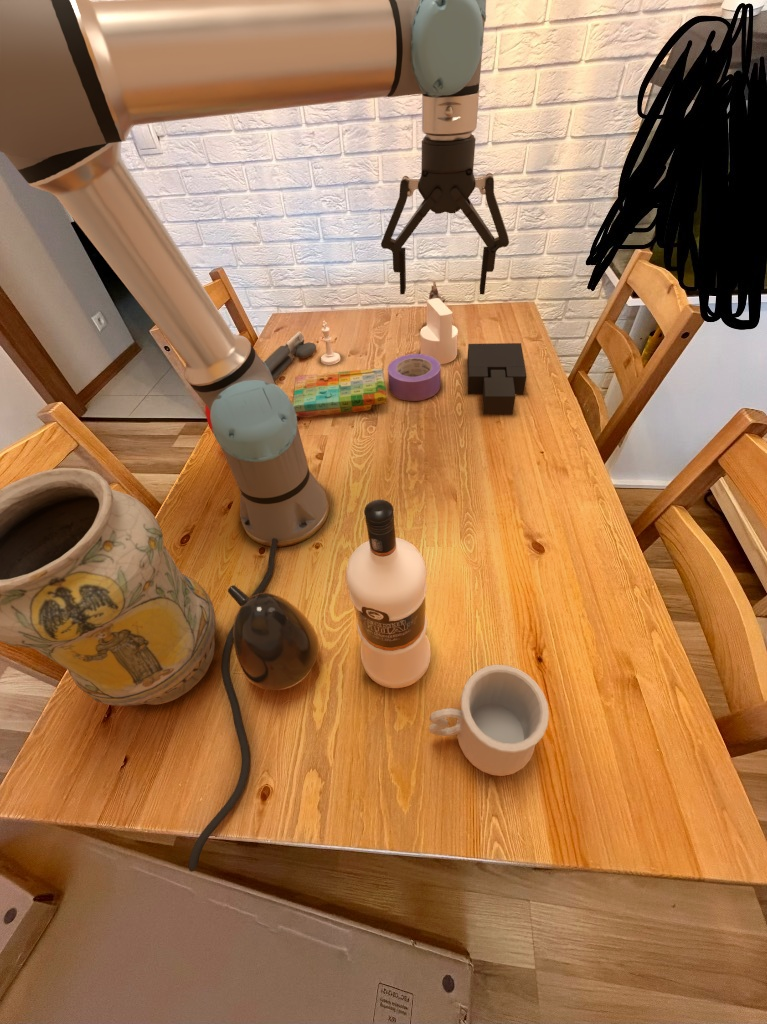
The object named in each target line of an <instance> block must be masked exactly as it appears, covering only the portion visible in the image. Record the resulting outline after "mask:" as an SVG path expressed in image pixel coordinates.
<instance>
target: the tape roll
mask: <svg viewBox="0 0 767 1024" xmlns="http://www.w3.org/2000/svg"><path fill="white" fill-rule="evenodd" d="M387 379H388V390H389V392H390V394H391V395H392V396H393V397H395V398H397V399H400V400H403V401H407V402H417V401H423V400H424V401H425V400H427V399H430V398H432V397H433V396H435V395H436V394H437V393H438V392H439V391H440V389H441V364H440V363H439V362H438V361H437V360H436V359H435V358H433V357H431V356H428V355H423V354H420V353H410V354H405V355H402V356H399V357H396V358H394V359H393V360H392V361H390V363H389V364H388V366H387Z"/></svg>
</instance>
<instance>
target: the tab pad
mask: <svg viewBox="0 0 767 1024" xmlns="http://www.w3.org/2000/svg"><path fill="white" fill-rule="evenodd" d="M481 398H482V400H481V401H482V414H483V415H501V416H502V415H505V416H506V415H508V416H509V415H511V416H513V413H514V407H515V401H516V394H515V389H514V382H513V377H506V376H505V370H491V371H490V377H484V383H483V393H482V394H481Z"/></svg>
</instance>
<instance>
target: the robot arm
mask: <svg viewBox="0 0 767 1024" xmlns="http://www.w3.org/2000/svg"><path fill="white" fill-rule="evenodd" d="M486 10H487V0H102V1H101V0H100V1H92V0H0V152H1V153H3V154H4V156H5V157H6V158H7V160H9V161H10V163H11V164H12V165H13V167H14V168H15V169H16V170H17V171H18V173H19V174H20V175H21V176H22V178H23V179H24V181H26V183H27V184H28V185H29V186H30V187H32V188H34V189H37V190H40V191H43V192H47V193H49V194H51V195H53V196H54V197H56V199H57V200H58V201H59V202H60V204H61V205H62V206H63V208H64V209H65V210H66V212H67V213H68V214H69V215H70V216H71V217H72V219H73V220H74V222H75V223H76V225H77V226H78V227H79V228H80V229H81V231H82V232H83V234H84V235H85V236H86V237H87V238H88V240H89V241H90V242H91V243H92V245H93V246H94V247H95V248H96V250H97V251H98V252H99V254H100V255H101V256H102V257H103V259H104V260H105V261H106V263H107V264H108V265H109V267H110V268H111V270H113V272H114V273H115V274H116V275H117V277H118V278H119V279H120V281H121V283H123V284H124V286H125V287H126V288H127V290H128V291H129V293H130V294H131V295H132V296H133V297H134V299H135V301H137V303H138V304H139V306H141V308H142V309H143V310H144V312H145V314H147V315H148V317H149V318H150V320H151V321H152V322H153V323H154V325H155V326H156V327H157V329H158V330H159V331H160V332H161V334H162V335H163V336H164V338H166V340H167V341H168V343H169V344H170V345H171V346H172V348H173V349H174V350H175V352H176V353H177V354H178V355H179V357H180V358H181V359H182V361H183V362H184V363H185V369H184V372H183V373H184V378H185V381H186V382H187V383H188V384H189V386H190V387H191V388H192V389H193V391H194V392H195V393H196V394H197V396H198V397H199V398H200V399H201V401H202V402H203V403H204V404H205V406H206V405H207V407H208V408H209V410H210V419H211V424H212V430H213V432H212V434H213V433H214V434H213V436H214V438H215V440H216V441H217V443H218V444H219V446H220V448H221V451H222V453H223V455H224V457H225V459H226V462H227V464H228V467H229V469H230V471H231V473H232V476H233V478H234V481H235V483H236V486H237V487H238V489H239V493H240V498H239V499H240V500H239V501H240V502H239V504H240V505H239V516H240V521H241V524H242V527H243V529H244V530H245V533H246V535H247V536H248V537H249V538H250V539H251V540H252V541H254V542H256V543H258V544H259V545H262V546H266V547H267V546H268V547H270V550H269V555H268V564H267V569H266V573H265V575H264V577H263V579H262V581H261V582H260V583H259V585H258V587H256V589H255V590H254V591H253V593H252V594H251V595H250V596H249V598H250V597H252V596H254V595H257V594H261V593H263V592H264V590H265V589H266V587H267V586H268V584H269V582H270V581H271V578H272V577H273V576H272V575H273V573H274V568H275V561H276V553H277V549H278V548H280V547H281V548H282V547H289V546H292V545H296V544H298V543H299V544H300V543H302V542H303V541H306V540H307V539H309V538H311V537H312V536H314V535H315V534H316V533H317V532H319V530H321V528H322V527H323V526H324V524H325V523H326V520H327V519H328V516H329V511H330V507H329V506H330V504H329V500H328V496H327V493H326V491H325V489H324V488H323V486H322V485H321V484H320V483H319V481H318V480H317V479H316V478H315V476H314V475H313V474H312V472H311V471H310V468H309V464H308V460H307V456H306V452H305V449H304V448H305V447H304V445H303V441H302V437H301V433H300V429H299V426H298V417H297V416H298V415H297V414H296V412H295V409H294V407H293V402H291V399H290V397H289V395H288V394H287V393H286V392H285V390H283V389H282V388H281V387H280V386H279V385H277V384H276V382H275V380H273V377H272V375H271V372H270V370H269V368H268V367H267V365H266V364H265V363H264V361H263V359H261V357H260V356H259V354H258V353H257V351H256V349H255V348H254V346H253V344H252V343H251V341H250V340H249V339H248V338H247V337H245V336H243V335H241V334H240V335H239V334H235V333H234V332H233V331H232V329H231V328H230V326H229V325H228V323H227V321H226V320H225V319H224V317H223V315H222V314H221V313H220V310H219V309H218V307H217V306H216V305H215V303H214V300H212V298H211V297H210V295H209V293H208V291H207V290H206V289H205V287H204V286H203V284H202V283H201V281H200V279H199V278H198V276H197V274H196V273H195V272H194V270H193V268H192V267H191V265H190V264H189V262H188V260H187V259H186V257H185V256H184V255H183V253H182V251H181V250H180V247H179V246H178V245H177V242H176V241H175V240H174V239H173V237H172V236H171V234H170V232H169V231H168V230H167V228H166V226H165V224H164V223H163V221H162V220H161V218H160V217H159V215H158V214H157V212H156V210H155V209H154V208H153V206H152V204H151V203H150V201H149V200H148V198H147V197H146V195H145V193H144V192H143V190H142V189H141V187H140V185H139V184H138V182H137V181H136V179H135V178H134V176H133V174H132V173H131V171H130V170H129V168H128V167H127V165H126V164H125V162H124V160H123V158H122V152H121V151H122V142H127V139H128V137H129V135H130V133H131V130H132V129H133V128H134V127H135V126H141V125H147V124H148V125H149V124H156V123H157V124H158V123H166V122H175V121H183V120H193V119H202V118H211V117H219V116H228V115H237V114H246V113H256V112H265V111H273V110H281V109H289V108H290V109H292V108H299V107H308V106H316V105H317V106H318V105H326V104H333V103H335V104H337V103H342V102H352V101H353V102H354V101H362V100H369V99H378V98H395V97H404V96H413V95H421V132H422V133H423V134H424V135H425V136H424V137H423V138H422V140H421V165H420V166H421V167H420V168H421V169H420V171H421V173H420V177H419V179H418V178H417V179H415V178H410V177H409V176H408V175H404V176H402V178H401V180H400V184H399V193H398V198H397V202H396V203H395V207H394V209H393V211H392V214H391V216H390V219H389V222H388V225H387V227H386V230H385V231H384V234H383V237H382V240H381V242H380V247H381V248H382V249H384V250H385V249H387V250H389V251H391V253H392V270H393V273H399V295H405V294H406V289H407V277H406V276H407V272H406V271H407V268H406V267H407V263H406V247H403V246H404V245H405V244H406V242H407V241H408V240H409V238H410V237H411V236H412V235H413V233H414V232H415V230H416V229H417V227H418V226H419V225H420V223H421V222H422V221H423V220H424V218H425V217H426V216H427V215H428V213H429V212H430V211H431V212H433V213H434V214H435V215H439V214H444V213H447V214H456V213H457V212H460V210H461V212H462V213H463V215H464V216H465V217H466V218H467V220H468V221H469V222H470V224H471V225H472V227H473V229H474V230H475V231H476V232H477V234H478V235H479V237H480V238H481V240H482V241H483V243H484V244H485V246H483V250H482V260H481V269H480V281H479V295H485V291H486V283H487V273H493V272H494V269H495V263H496V256H497V251H498V250H499V249H501V248H506V247H509V245H510V240H509V234H508V232H507V229H506V228H507V227H506V225H505V222H504V219H503V216H502V213H501V211H500V210H501V209H500V207H499V203H498V201H497V197H496V194H495V179H494V175H493V173H491V172H488V173H486V175H484V176H479V177H475V175H474V164H475V152H476V150H475V149H476V141H477V140H476V137H475V135H474V134H472V133H473V132H475V130H476V129H477V128H478V127H477V125H478V114H479V113H478V111H479V100H480V99H479V98H480V82H481V69H482V58H483V48H484V47H483V46H484V36H485V35H484V34H485V23H486V21H487V11H486ZM476 188H477V189H478V190H479V193H480V194H481V195H483V196H485V200H486V204H487V207H488V209H489V212H490V216H491V218H492V221H493V224H494V228H495V230H496V233H497V237H495V236H494V235H493V234H492V232H491V230H490V229H489V227H488V226H487V225H486V223H485V222H484V219H482V217H481V216H480V214H479V212H478V211H477V210H476V207H474V205H473V202H472V201H471V200H470V196H471V195H472V193H473V192H474V190H475V189H476ZM415 190H418V193H419V194H420V196H421V197H422V199H423V201H422V202H421V203H420V205H419V206H418V208H417V209H416V210H415V212H414V214H413V215H412V216H411V217H410V219H409V220H408V222H407V223H406V224H405V226H404V227H403V228H402V230H401V231H400V233H399V234H398V235H397V237H396V238H395V239H394V238H393V236H394V233H395V230H396V228H397V225H398V223H399V221H400V218H401V216H402V213H403V211H404V208H405V206H406V203H407V200H408V197H412V196H413V194H414V192H415ZM277 547H278V548H277ZM233 643H234V623H233V624H232V626H231V628H230V630H229V633H228V635H227V637H226V640H225V642H224V647H223V650H222V656H221V676H222V683H223V686H224V689H225V692H226V694H227V699H228V701H229V705H230V709H231V714H232V719H233V720H232V721H233V724H234V728H235V732H236V736H237V740H238V743H239V748H240V754H241V765H240V766H241V767H240V773H239V777H238V781H237V783H236V786H235V789H234V791H232V794H231V796H230V797H229V799H228V800H227V801H226V803H225V804H224V805H223V806H222V807H221V809H220V810H219V811H218V812H217V814H215V816H213V818H212V819H211V820H210V821H209V823H208V824H207V825H206V826H205V827H204V829H203V831H202V832H201V833H200V834H199V836H198V838H197V839H196V840H195V843H194V845H193V847H192V850H191V853H190V856H189V859H188V871H189V872H191V873H192V872H194V871H196V870H197V868H198V865H199V860H200V856H201V852H202V851H203V848H204V847H205V844H206V842H207V841H208V840H209V838H210V837H211V835H212V834H213V833H214V831H215V830H216V829H217V828H218V826H219V825H220V824H221V823H222V822H223V821H224V819H226V817H227V816H228V815H229V814H230V813H231V811H232V810H233V809H234V807H235V806H236V804H237V803H238V801H239V799H240V798H241V796H242V794H243V792H244V790H245V788H246V785H247V782H248V777H249V774H250V773H249V772H250V765H251V755H250V747H249V741H248V737H247V734H246V732H245V731H246V730H245V727H244V724H243V719H242V714H241V709H240V705H239V701H238V696H237V694H236V691H235V689H234V686H233V683H232V679H231V674H230V654H231V649H232V645H233Z"/></svg>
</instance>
